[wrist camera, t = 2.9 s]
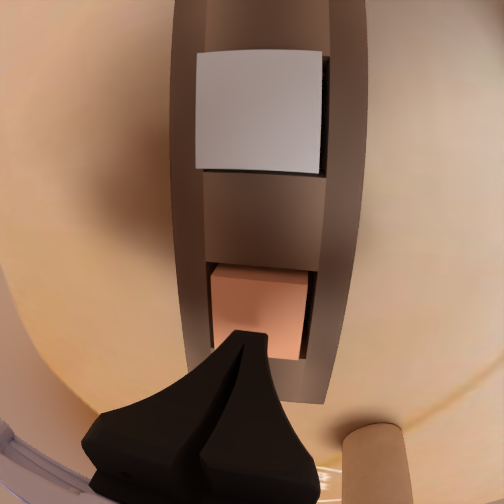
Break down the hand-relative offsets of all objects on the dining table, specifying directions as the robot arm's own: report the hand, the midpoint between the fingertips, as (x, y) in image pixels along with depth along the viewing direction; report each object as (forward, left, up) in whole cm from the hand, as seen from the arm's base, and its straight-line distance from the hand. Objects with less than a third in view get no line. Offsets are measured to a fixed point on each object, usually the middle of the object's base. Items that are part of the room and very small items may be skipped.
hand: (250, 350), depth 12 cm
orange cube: (0, 0, -6) cm, 6 cm away
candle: (-10, +15, -7) cm, 19 cm away
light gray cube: (0, -9, -4) cm, 10 cm away
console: (0, -9, -6) cm, 11 cm away
